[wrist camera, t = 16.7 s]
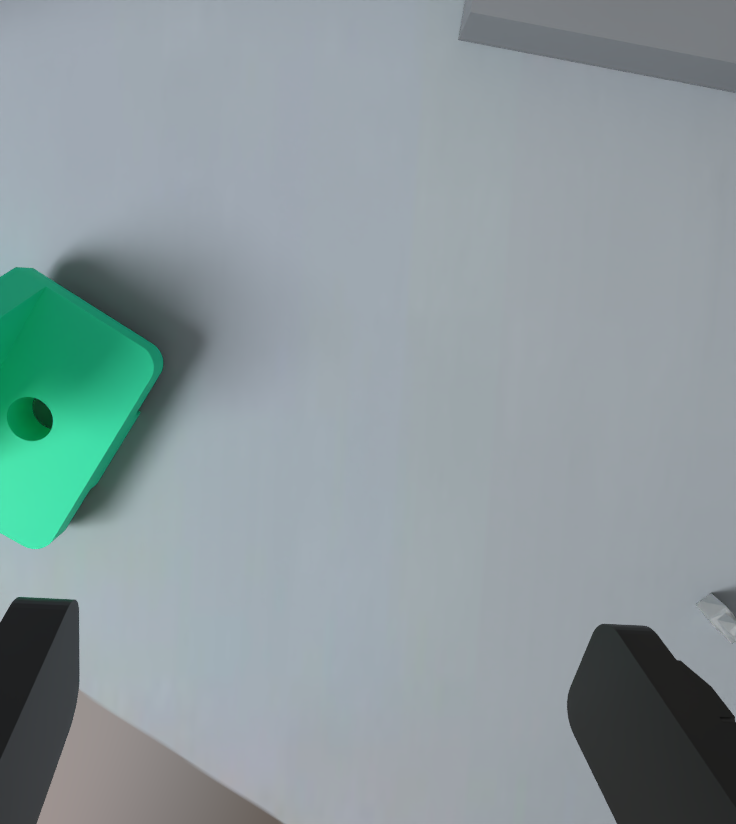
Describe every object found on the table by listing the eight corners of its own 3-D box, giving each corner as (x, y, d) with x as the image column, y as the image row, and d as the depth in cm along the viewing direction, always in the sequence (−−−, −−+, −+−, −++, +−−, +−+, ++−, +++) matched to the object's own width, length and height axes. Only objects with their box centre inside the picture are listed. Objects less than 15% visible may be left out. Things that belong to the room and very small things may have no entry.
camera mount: (66, 535, 34) (-57, 644, 23) (-64, 461, 32) (-250, 542, 22) (177, 353, 32) (96, 386, 22) (43, 268, 31) (-107, 261, 21)
